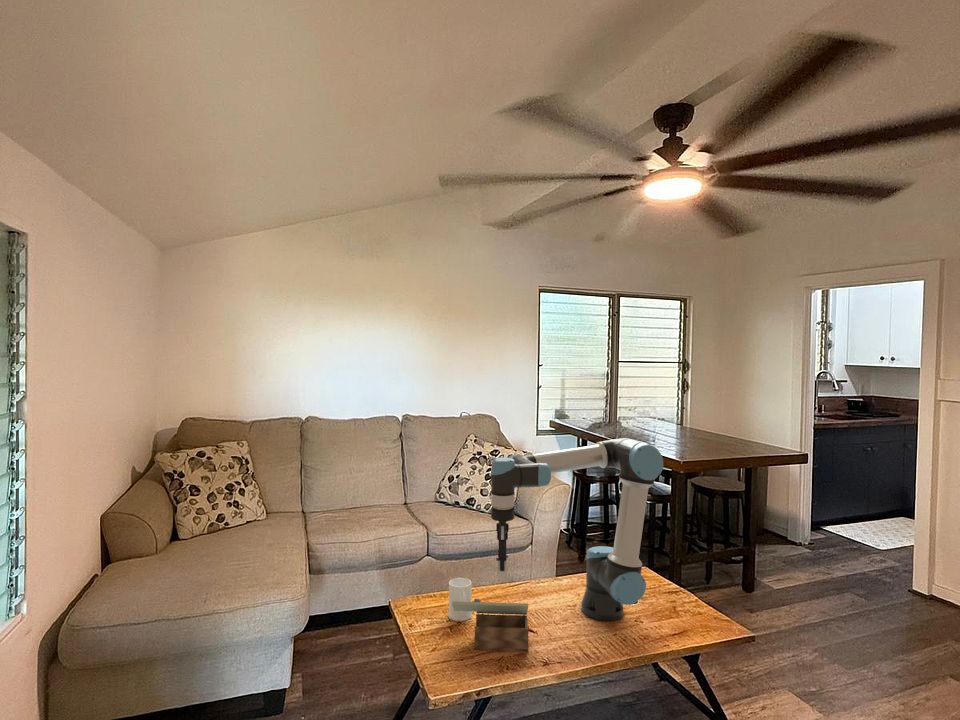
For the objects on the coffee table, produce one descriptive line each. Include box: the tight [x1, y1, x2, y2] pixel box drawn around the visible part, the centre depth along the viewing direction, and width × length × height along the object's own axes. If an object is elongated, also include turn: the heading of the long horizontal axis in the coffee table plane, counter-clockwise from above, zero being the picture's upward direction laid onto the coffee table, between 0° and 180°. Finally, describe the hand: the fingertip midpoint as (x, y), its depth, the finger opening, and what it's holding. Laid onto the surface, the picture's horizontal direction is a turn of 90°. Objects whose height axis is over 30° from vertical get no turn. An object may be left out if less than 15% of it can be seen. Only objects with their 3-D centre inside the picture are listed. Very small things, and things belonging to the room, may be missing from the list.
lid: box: [452, 598, 529, 616], centre depth 175 cm, size 24×10×2 cm
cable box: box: [474, 613, 529, 652], centre depth 172 cm, size 17×9×7 cm, turn 88°
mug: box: [447, 577, 473, 622], centre depth 189 cm, size 12×8×12 cm
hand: (501, 579), depth 171 cm, fingers closed
